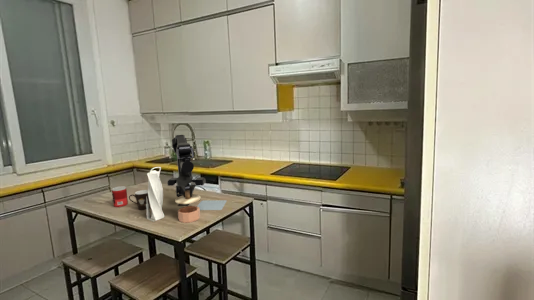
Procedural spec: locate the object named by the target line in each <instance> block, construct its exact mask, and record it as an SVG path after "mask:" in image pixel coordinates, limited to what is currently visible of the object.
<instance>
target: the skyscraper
mask: <svg viewBox="0 0 534 300" xmlns="http://www.w3.org/2000/svg"><path fill="white" fill-rule="evenodd" d="M154 169H159V170H158V171H157V170H154ZM161 170H162V167H161V166H155V167H153V168H151V169H150V171H149V172H147V173H146V175H147V178H148V181H147V182H148V183H147V190H148V197H149V202H150V208H149V204H148V200H146V203H147V204H146V209H147V210H146V218H145V219H146V220H148V221H150V222H152V223H153V222H156V221H159V220H162V219H163V218H165V214H164V212H163V202H164V201H163V200H164V189H163V185H162V181H161V177H160V174H161ZM146 199H147V197H146ZM150 209H151V212H150Z"/></svg>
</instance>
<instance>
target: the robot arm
mask: <svg viewBox="0 0 534 300" xmlns="http://www.w3.org/2000/svg"><path fill="white" fill-rule="evenodd" d="M171 148H172V149H173V152H174V153H175V155H176V160H177V171H178V172H177V173H178V176H177V177H171V178H170V179H168V180H167V182H166V183H167V186H170V187H172V186H173V187H174V185H175V195H176V198H177V197H179V196H182V195H183V196H184V198H185V190H190V197H192V194H194V191H195V188H196V187H197V186H203V185H205V184H206V182H207V181H206V178H205V177H197V178H195V179H193V178H194V177H193V171H194V168H195V166H194V163H193V162H192V160H191V159H194V158H195V152H194V151H195V150H194V148H193V145H191V144H190V143H189V142H188V140H187V138H186V137H185V135H184V134H176V135H175V136H174V138H172V139H171ZM186 206H190V204H177V207H186Z"/></svg>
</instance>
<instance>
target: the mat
mask: <svg viewBox="0 0 534 300" xmlns="http://www.w3.org/2000/svg"><path fill="white" fill-rule="evenodd" d="M227 202H228V200H225V199H224V200H222V199H221V200H219V199H218V200H217V199H215V200H211V199H210V200H207V199H206V200H200V201H199V203H198V204H197V207H199V208H200V211H222V210H223V208H224V206H225V205H226V203H227Z"/></svg>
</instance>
